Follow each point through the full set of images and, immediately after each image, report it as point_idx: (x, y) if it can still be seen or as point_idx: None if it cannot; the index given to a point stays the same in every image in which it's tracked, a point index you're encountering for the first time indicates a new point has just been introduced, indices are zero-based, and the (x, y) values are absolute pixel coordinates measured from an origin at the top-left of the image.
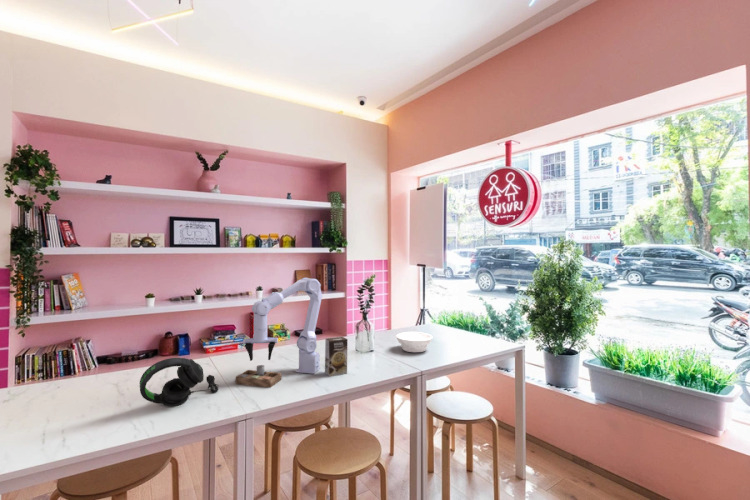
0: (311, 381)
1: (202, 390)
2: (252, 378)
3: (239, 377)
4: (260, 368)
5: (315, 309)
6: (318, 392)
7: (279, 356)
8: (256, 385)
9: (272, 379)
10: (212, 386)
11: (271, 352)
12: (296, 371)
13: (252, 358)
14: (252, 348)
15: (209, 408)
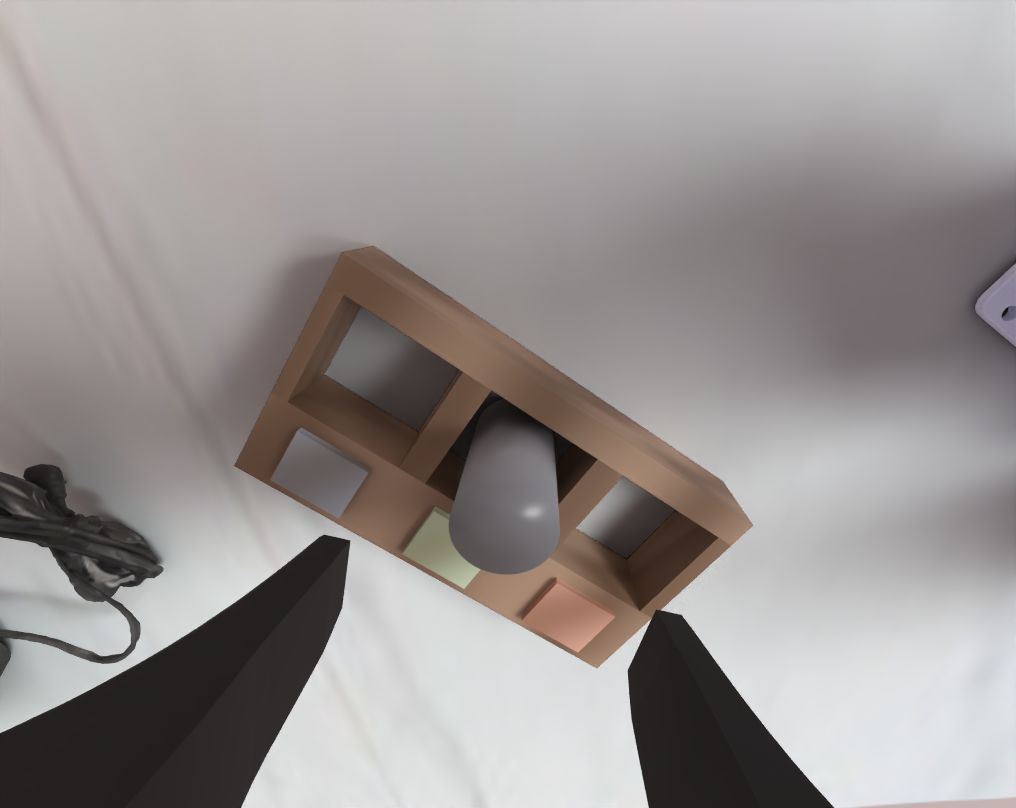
0: (974, 613)
1: (42, 642)
2: (424, 571)
3: (281, 490)
4: (503, 563)
5: None
6: (900, 790)
7: None
8: None
9: (619, 642)
10: (88, 600)
11: (750, 733)
12: (989, 321)
13: (339, 571)
14: (202, 749)
15: None
